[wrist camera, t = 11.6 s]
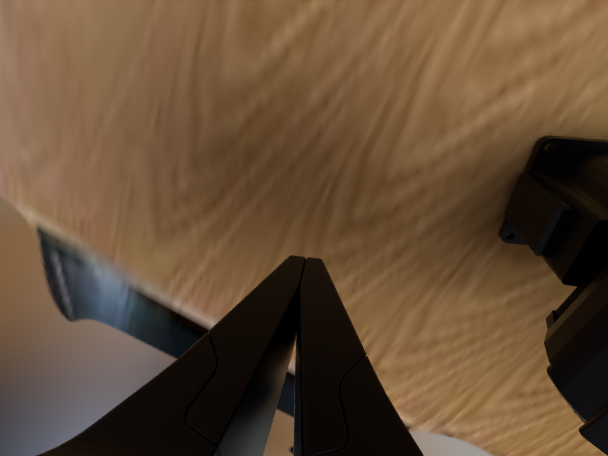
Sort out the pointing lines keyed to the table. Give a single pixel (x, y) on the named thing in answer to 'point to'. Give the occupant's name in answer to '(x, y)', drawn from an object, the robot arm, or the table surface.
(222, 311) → the table surface
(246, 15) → the table surface
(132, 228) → the table surface
